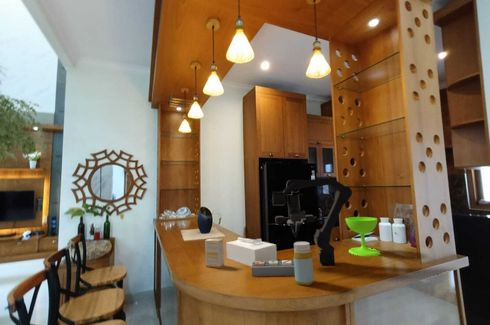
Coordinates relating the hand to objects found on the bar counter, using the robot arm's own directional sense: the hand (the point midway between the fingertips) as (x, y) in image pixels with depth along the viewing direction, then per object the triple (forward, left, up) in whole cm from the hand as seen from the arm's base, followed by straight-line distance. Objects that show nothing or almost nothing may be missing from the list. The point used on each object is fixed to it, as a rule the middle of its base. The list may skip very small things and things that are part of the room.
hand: (295, 236), depth 120 cm
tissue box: (+23, -11, -14) cm, 29 cm away
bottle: (0, +23, -13) cm, 26 cm away
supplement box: (+41, -1, -13) cm, 43 cm away
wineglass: (-38, -18, -13) cm, 44 cm away
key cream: (+6, +10, -11) cm, 16 cm away
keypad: (+12, +10, -13) cm, 20 cm away
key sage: (+12, +10, -11) cm, 19 cm away
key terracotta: (+18, +10, -11) cm, 23 cm away
